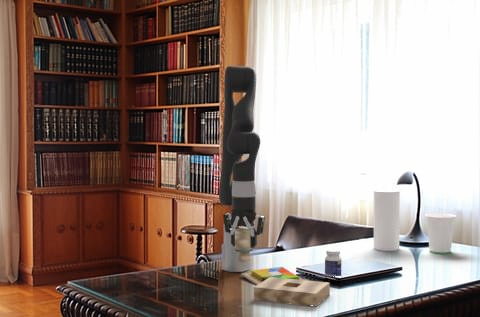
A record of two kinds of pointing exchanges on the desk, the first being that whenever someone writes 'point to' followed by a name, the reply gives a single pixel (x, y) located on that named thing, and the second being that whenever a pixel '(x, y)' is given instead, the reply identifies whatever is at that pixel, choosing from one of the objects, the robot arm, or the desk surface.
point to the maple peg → (243, 244)
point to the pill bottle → (332, 263)
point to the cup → (440, 232)
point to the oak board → (292, 291)
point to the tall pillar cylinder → (386, 219)
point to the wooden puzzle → (269, 274)
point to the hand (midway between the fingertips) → (243, 246)
